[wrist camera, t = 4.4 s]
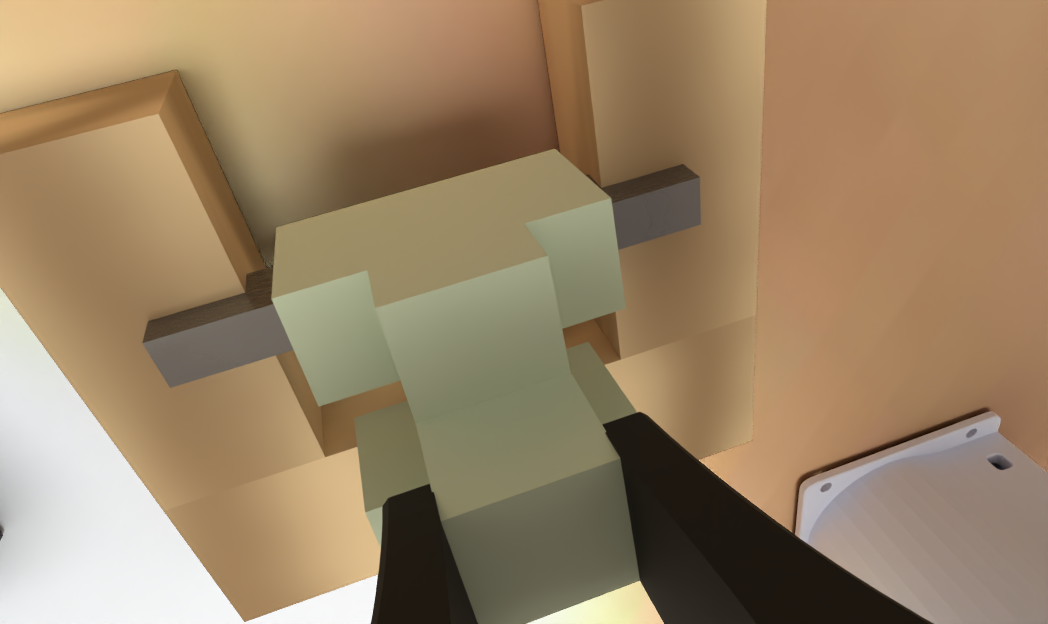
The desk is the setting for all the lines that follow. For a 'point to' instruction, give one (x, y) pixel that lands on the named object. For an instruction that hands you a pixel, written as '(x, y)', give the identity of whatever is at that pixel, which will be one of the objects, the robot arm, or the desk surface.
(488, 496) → the pale green block
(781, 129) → the desk surface
